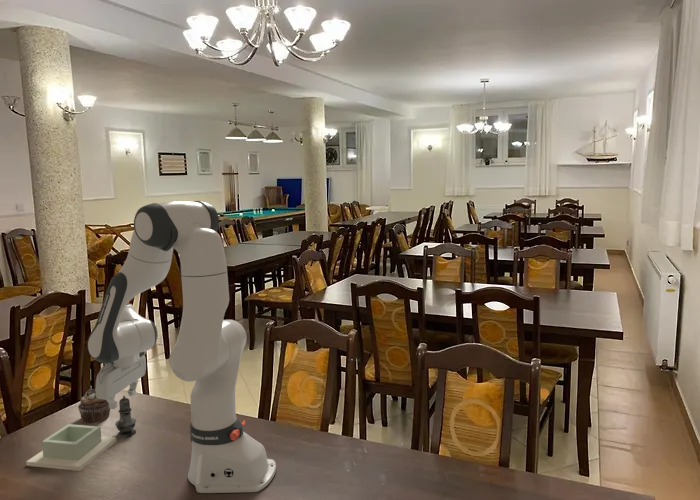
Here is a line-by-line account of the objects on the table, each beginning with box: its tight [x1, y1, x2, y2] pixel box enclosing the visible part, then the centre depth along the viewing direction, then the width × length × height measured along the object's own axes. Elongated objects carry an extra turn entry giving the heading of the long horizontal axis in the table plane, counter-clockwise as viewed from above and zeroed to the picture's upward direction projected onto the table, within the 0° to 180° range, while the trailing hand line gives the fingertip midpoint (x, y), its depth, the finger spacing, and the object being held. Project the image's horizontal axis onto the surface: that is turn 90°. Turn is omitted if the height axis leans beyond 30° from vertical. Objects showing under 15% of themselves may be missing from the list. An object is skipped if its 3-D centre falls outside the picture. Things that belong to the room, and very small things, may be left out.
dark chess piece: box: [115, 395, 137, 439], centre depth 160 cm, size 6×6×12 cm
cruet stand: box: [25, 423, 117, 472], centre depth 149 cm, size 16×16×6 cm
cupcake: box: [77, 387, 111, 425], centre depth 171 cm, size 10×10×10 cm
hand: (122, 401), depth 160 cm, fingers open, 8 cm apart
